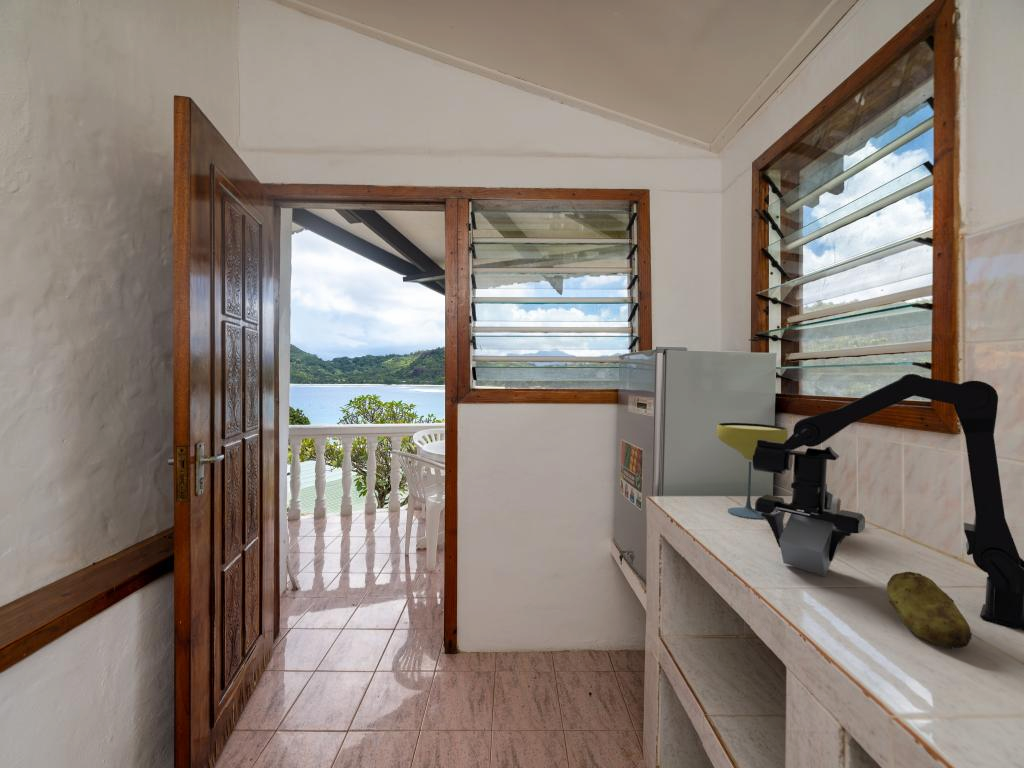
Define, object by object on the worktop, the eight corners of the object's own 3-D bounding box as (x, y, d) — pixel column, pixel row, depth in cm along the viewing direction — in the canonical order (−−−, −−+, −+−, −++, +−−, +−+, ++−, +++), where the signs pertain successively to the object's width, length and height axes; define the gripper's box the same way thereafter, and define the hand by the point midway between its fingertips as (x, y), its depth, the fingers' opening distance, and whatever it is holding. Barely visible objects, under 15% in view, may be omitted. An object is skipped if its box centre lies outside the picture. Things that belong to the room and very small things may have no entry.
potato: (905, 646, 74) (908, 593, 74) (879, 608, 86) (882, 562, 86) (977, 660, 71) (980, 604, 71) (940, 619, 83) (942, 571, 83)
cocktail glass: (794, 525, 133) (798, 431, 132) (722, 520, 136) (726, 428, 135) (770, 507, 151) (774, 424, 150) (707, 503, 153) (710, 421, 153)
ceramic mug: (839, 527, 132) (841, 498, 132) (803, 521, 137) (805, 493, 137) (839, 518, 141) (841, 491, 141) (806, 513, 146) (807, 486, 145)
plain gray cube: (825, 576, 99) (821, 552, 96) (783, 563, 105) (778, 539, 102) (836, 547, 103) (833, 523, 100) (795, 535, 109) (791, 512, 106)
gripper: (874, 481, 101) (869, 558, 101) (775, 466, 114) (771, 533, 115) (859, 490, 93) (854, 572, 94) (755, 472, 107) (752, 544, 107)
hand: (805, 554), depth 103 cm, fingers open, 9 cm apart
